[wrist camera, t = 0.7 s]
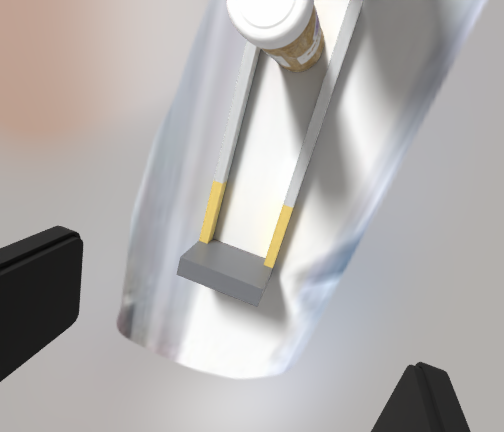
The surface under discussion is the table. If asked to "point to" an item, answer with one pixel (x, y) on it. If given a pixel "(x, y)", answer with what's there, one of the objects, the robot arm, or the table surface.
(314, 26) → the sprinkles bottle
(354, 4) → the guide channel
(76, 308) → the robot arm
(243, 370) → the table surface
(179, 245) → the table surface
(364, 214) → the table surface
